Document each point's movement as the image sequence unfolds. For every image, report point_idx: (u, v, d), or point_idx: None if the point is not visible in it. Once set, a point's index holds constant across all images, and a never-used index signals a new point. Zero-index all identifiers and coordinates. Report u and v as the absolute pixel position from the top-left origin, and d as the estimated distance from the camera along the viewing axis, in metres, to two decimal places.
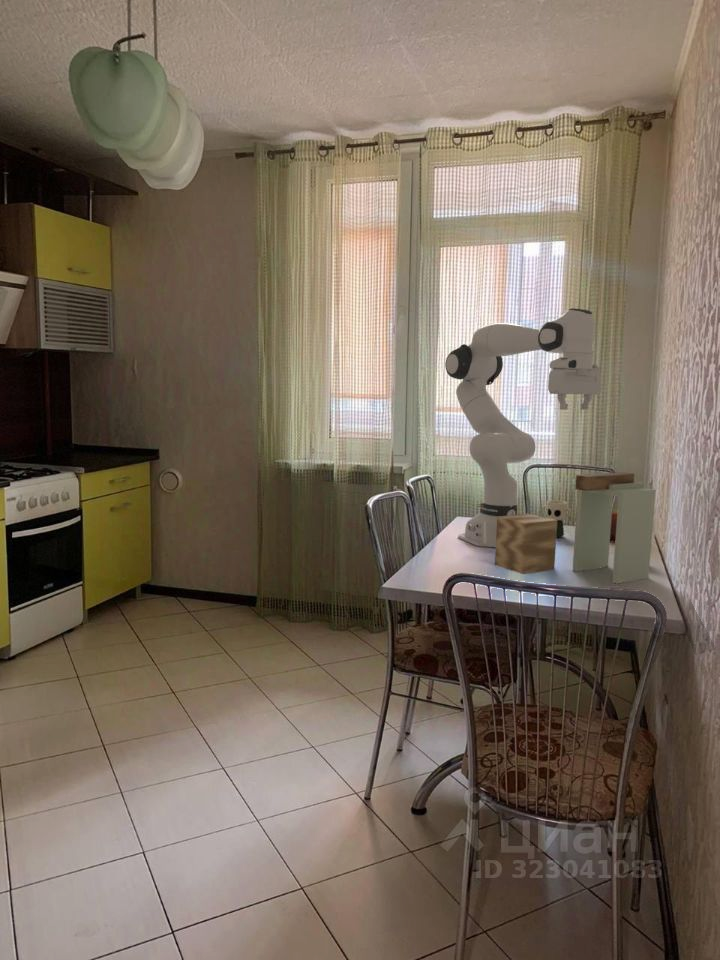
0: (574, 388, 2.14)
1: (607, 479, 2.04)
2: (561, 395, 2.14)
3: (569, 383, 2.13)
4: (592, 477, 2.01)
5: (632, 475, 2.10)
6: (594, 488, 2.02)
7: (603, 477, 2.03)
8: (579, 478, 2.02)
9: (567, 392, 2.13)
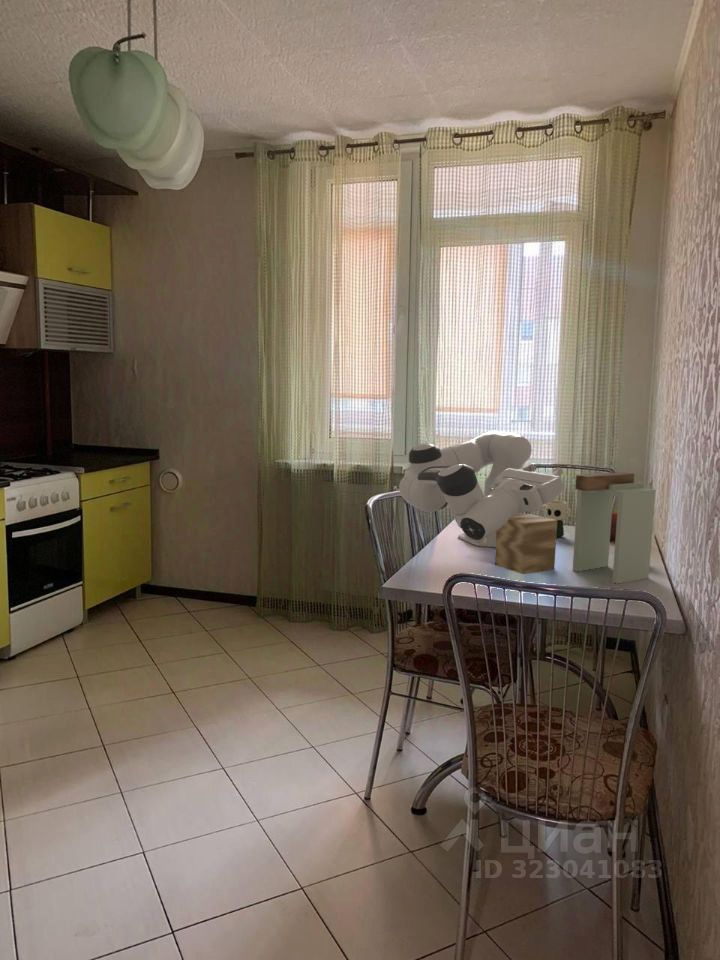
0: (536, 475, 1.88)
1: (607, 479, 2.04)
2: None
3: (540, 480, 1.86)
4: (592, 477, 2.01)
5: (632, 475, 2.10)
6: (594, 488, 2.02)
7: (603, 477, 2.03)
8: (579, 478, 2.02)
9: (547, 474, 1.86)
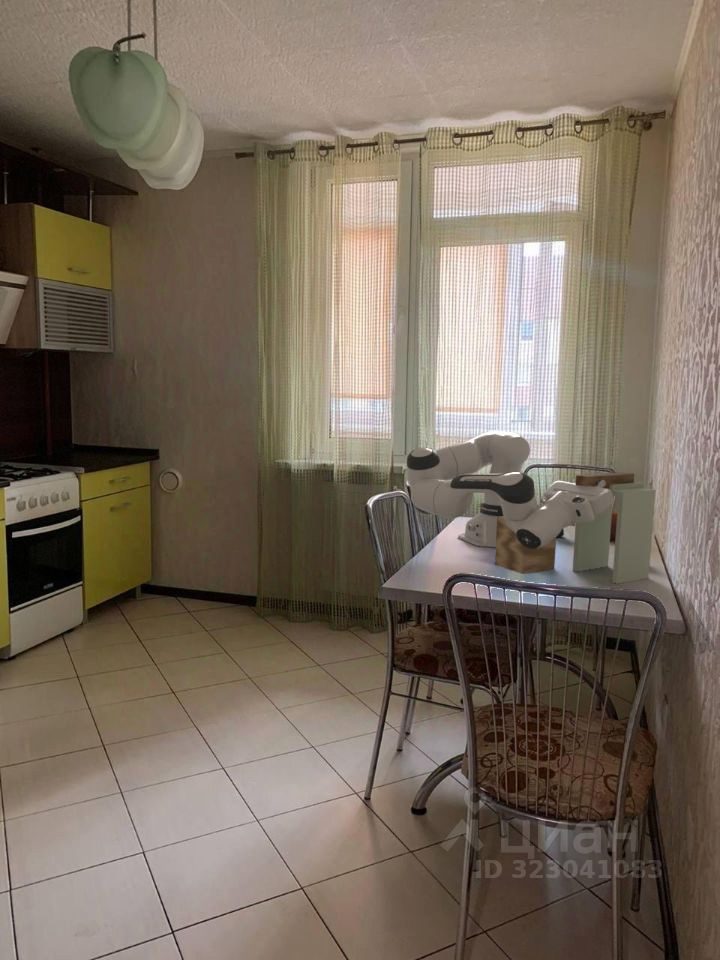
0: (586, 488, 1.99)
1: (607, 479, 2.04)
2: None
3: (590, 492, 1.97)
4: (592, 477, 2.01)
5: (632, 475, 2.10)
6: None
7: (603, 477, 2.03)
8: (579, 478, 2.02)
9: (598, 487, 1.97)
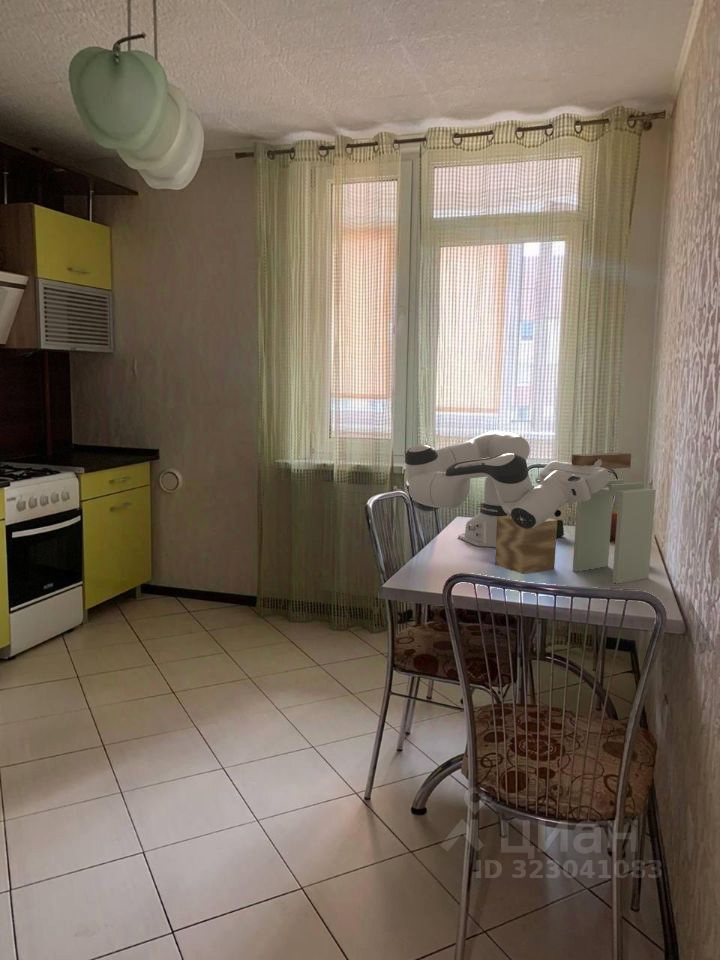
0: (582, 467, 1.97)
1: (604, 458, 2.02)
2: None
3: (586, 471, 1.94)
4: (588, 456, 1.98)
5: (629, 455, 2.07)
6: None
7: (599, 457, 2.01)
8: (575, 457, 1.99)
9: (594, 466, 1.95)
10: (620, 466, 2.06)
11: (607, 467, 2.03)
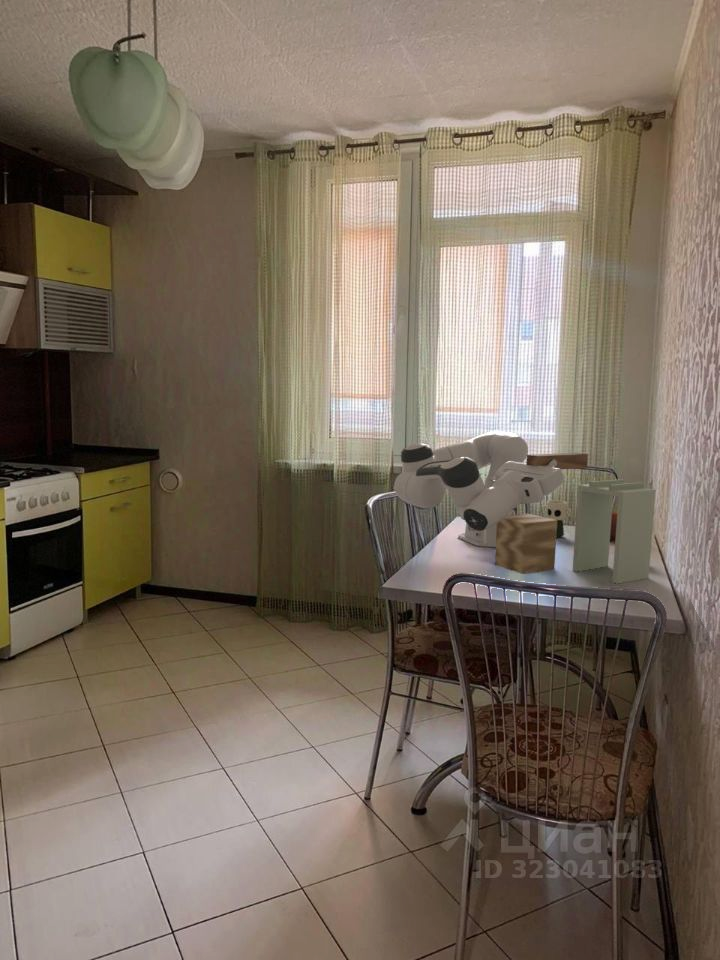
0: (536, 468, 1.93)
1: (559, 459, 1.98)
2: None
3: (540, 472, 1.90)
4: (543, 456, 1.94)
5: (586, 455, 2.04)
6: None
7: (555, 457, 1.97)
8: (530, 458, 1.96)
9: (548, 467, 1.91)
10: (576, 466, 2.02)
11: (563, 467, 1.99)
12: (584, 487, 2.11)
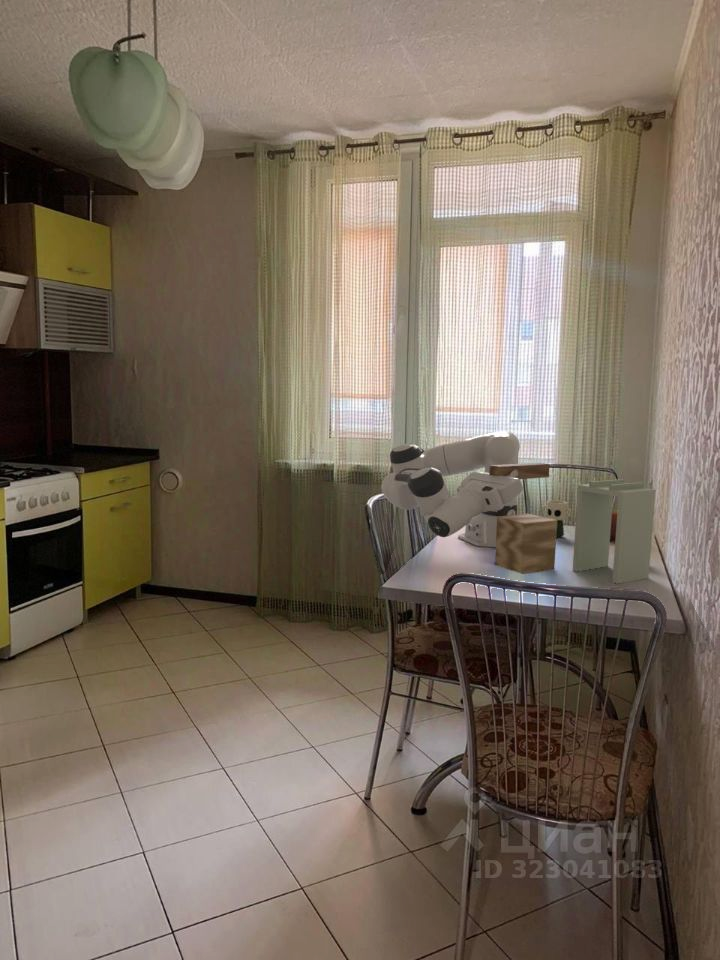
0: (498, 478, 2.05)
1: (521, 469, 2.10)
2: None
3: (501, 482, 2.02)
4: (504, 467, 2.07)
5: (547, 465, 2.15)
6: None
7: (516, 467, 2.09)
8: (492, 468, 2.08)
9: (508, 477, 2.03)
10: (538, 476, 2.14)
11: (524, 477, 2.11)
12: (584, 487, 2.11)
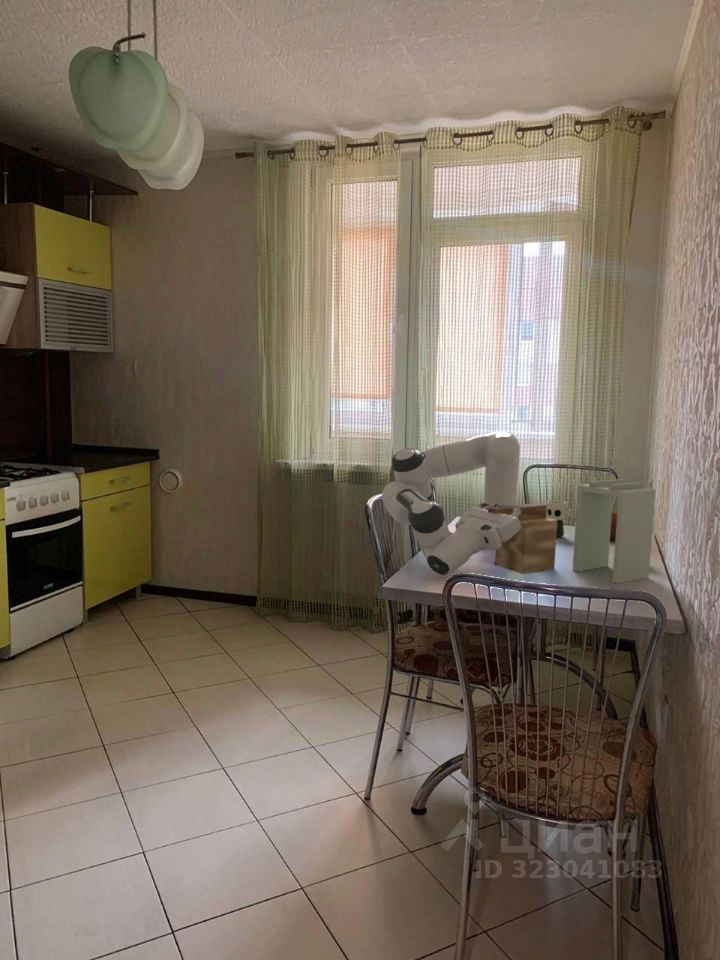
0: (496, 515, 2.07)
1: None
2: None
3: (499, 520, 2.04)
4: (502, 510, 2.09)
5: (544, 506, 2.18)
6: None
7: None
8: (490, 510, 2.10)
9: (506, 515, 2.05)
10: (535, 517, 2.16)
11: (522, 519, 2.13)
12: (584, 487, 2.11)
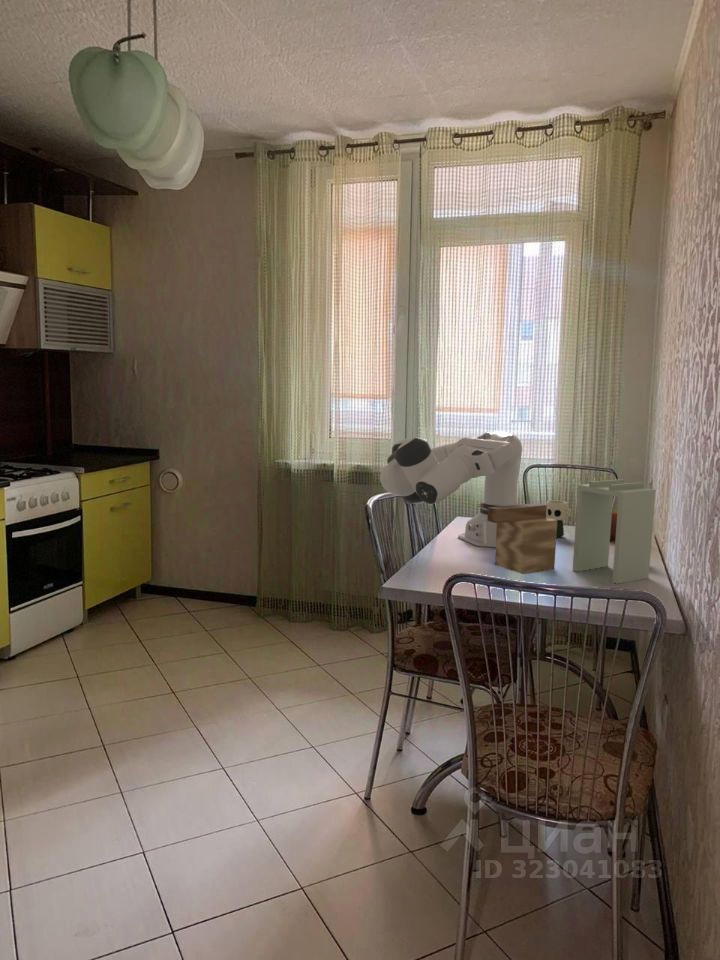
0: (488, 442, 1.97)
1: (518, 511, 2.12)
2: None
3: (491, 446, 1.94)
4: (502, 510, 2.09)
5: (544, 506, 2.18)
6: (505, 520, 2.10)
7: (514, 509, 2.11)
8: (490, 510, 2.10)
9: (499, 441, 1.95)
10: (535, 517, 2.16)
11: (522, 519, 2.13)
12: (584, 487, 2.11)
